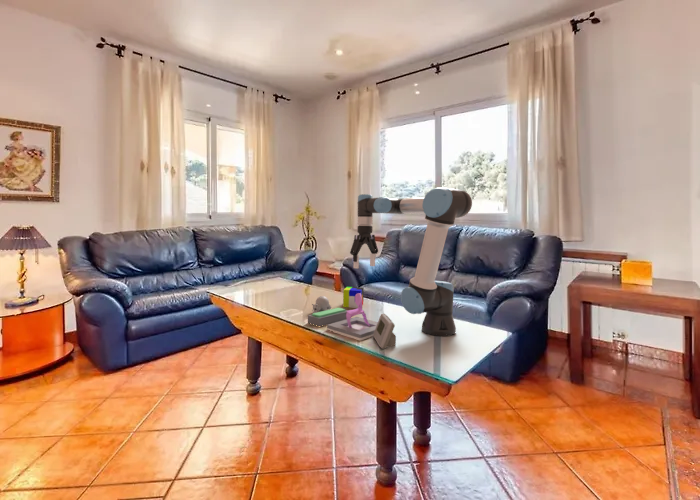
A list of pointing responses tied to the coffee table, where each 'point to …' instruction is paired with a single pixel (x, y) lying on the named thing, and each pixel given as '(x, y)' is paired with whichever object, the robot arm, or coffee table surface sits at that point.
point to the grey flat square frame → (354, 328)
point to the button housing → (327, 319)
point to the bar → (328, 312)
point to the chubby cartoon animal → (321, 304)
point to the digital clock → (385, 332)
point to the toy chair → (356, 310)
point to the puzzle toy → (351, 296)
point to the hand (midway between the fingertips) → (364, 267)
